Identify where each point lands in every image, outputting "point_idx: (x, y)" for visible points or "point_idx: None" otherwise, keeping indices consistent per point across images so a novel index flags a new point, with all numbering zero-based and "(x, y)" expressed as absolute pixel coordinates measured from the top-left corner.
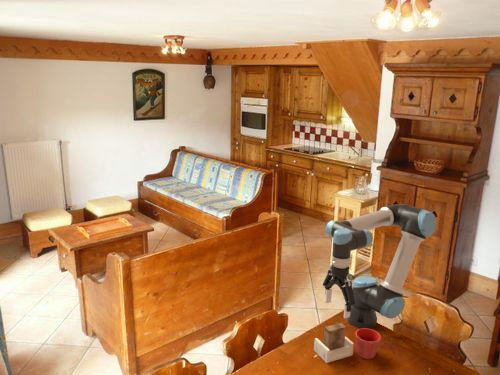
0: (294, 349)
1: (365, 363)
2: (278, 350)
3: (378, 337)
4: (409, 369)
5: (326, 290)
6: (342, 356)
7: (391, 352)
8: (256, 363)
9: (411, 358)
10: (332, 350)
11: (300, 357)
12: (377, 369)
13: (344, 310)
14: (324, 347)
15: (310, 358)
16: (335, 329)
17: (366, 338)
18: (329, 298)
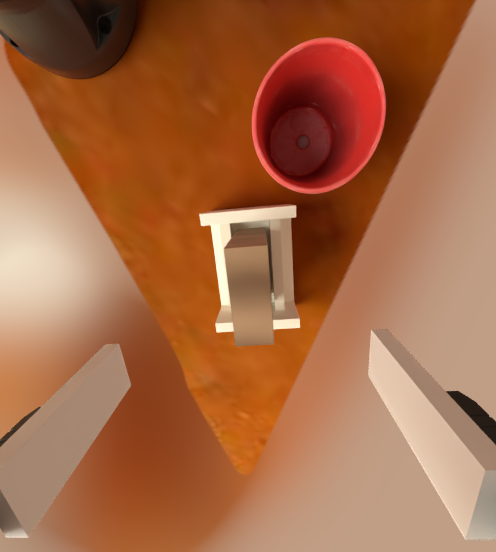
0: (204, 358)
1: (346, 184)
2: (197, 395)
3: (338, 59)
4: (461, 15)
5: (23, 528)
6: (291, 249)
7: (334, 16)
8: (232, 454)
9: None
10: (276, 286)
11: (243, 359)
12: (393, 161)
13: (410, 437)
14: (277, 327)
15: None
16: (270, 309)
17: (269, 109)
18: (98, 389)
